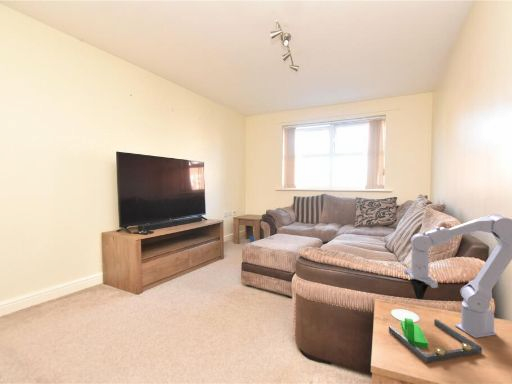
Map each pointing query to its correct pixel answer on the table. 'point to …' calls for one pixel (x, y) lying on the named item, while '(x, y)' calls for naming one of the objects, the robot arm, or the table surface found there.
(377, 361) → the table surface
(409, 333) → the mechanical part
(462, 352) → the grey frame
